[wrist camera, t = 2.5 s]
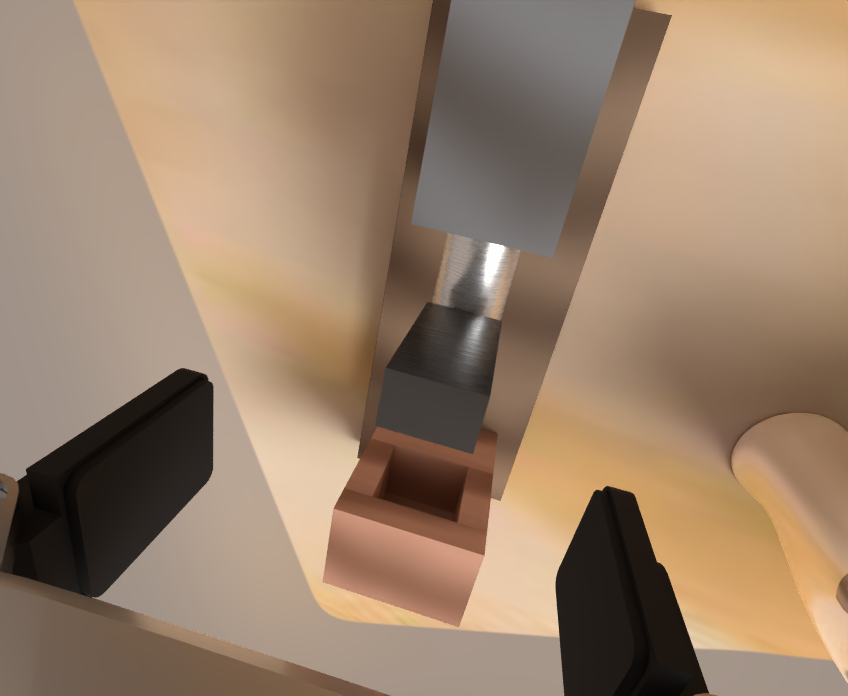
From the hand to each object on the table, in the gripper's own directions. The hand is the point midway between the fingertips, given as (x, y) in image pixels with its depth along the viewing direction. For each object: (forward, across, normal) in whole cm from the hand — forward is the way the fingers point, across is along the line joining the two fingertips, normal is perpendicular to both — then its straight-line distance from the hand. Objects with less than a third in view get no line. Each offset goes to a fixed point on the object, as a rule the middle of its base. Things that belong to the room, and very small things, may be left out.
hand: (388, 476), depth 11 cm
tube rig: (+18, -1, -1) cm, 18 cm away
